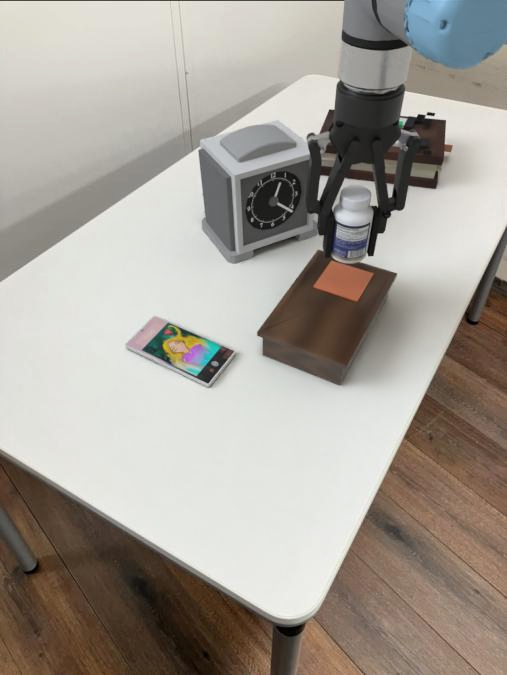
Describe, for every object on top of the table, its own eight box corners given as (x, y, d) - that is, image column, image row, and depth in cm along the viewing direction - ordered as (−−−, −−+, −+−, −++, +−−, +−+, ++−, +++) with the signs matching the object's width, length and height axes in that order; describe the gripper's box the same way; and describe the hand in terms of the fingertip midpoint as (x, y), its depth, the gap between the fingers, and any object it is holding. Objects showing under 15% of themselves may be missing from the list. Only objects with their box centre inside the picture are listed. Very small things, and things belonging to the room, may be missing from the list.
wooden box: (391, 297, 82) (397, 272, 78) (342, 389, 69) (347, 364, 66) (316, 273, 86) (318, 248, 82) (257, 355, 74) (256, 330, 70)
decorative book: (320, 102, 115) (458, 114, 109) (317, 134, 121) (449, 148, 115) (302, 141, 102) (458, 157, 96) (300, 175, 108) (447, 193, 102)
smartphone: (208, 385, 69) (123, 345, 75) (209, 388, 70) (124, 348, 75) (236, 351, 74) (154, 315, 79) (236, 354, 74) (154, 318, 79)
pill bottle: (336, 238, 76) (343, 178, 68) (371, 247, 74) (382, 186, 67) (323, 258, 72) (329, 198, 65) (359, 269, 71) (370, 207, 64)
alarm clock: (230, 265, 88) (223, 166, 75) (200, 226, 96) (188, 131, 83) (320, 234, 94) (328, 137, 80) (284, 199, 102) (286, 107, 88)
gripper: (445, 65, 59) (406, 233, 76) (285, 71, 59) (281, 237, 76) (465, 92, 53) (418, 265, 70) (290, 98, 54) (285, 270, 70)
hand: (347, 250), depth 73 cm, fingers closed on pill bottle, 5 cm apart
